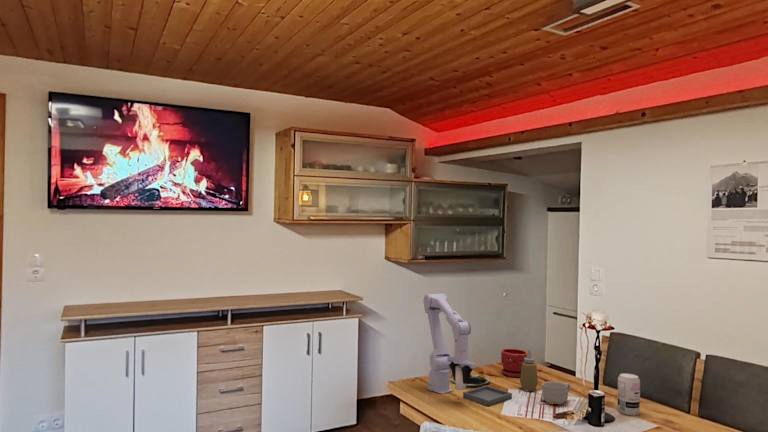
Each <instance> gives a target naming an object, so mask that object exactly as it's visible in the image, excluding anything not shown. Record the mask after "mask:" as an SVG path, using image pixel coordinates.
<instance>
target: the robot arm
mask: <svg viewBox="0 0 768 432" xmlns="http://www.w3.org/2000/svg"><path fill="white" fill-rule="evenodd" d="M422 302H423V307H424V313H426V314H427V319H428V323H429V329H430V335H431V340H432V345H433V350H432V352H431V353H430V355H429V367H430V369H431V370H429V373H428V387H427V388H426V389H427V390H429V391H432V392H435V393H438V394H441V395H443V394H446V393H451V392H454V389H453V388H451V387H450V381H451V378H450V377H451V374H453V377H454V381H455V373H456V370H455V366H457V365H463V366H464V367H461V370H462V374H463V384H466V383H468V379H469V376H470V374H472V371H473V370H474V369H476V367H477V366H476V363H475V362H473V361H470V360H469V336H470V335H471V332H472V325H471V324H470V322H469V321H468V320H464V319H463V318H462V317H461V316H460V314H459V313H458V312H457V310H453V309H452V307H451V305H449V302H448V297H447V294H445V293H444V292H442V293H426V294H425V295H424V296H423V300H422ZM441 313H443V314H444V315H445V319H446V321H447V322H448V324H449V326H450V327H451V330H452V334H453V339H454V355H453V356H452V354H451V351H450V350H448V349H447V348H446V347H445V341H444V336H443V330H442V325H441V320H440V314H441ZM450 372H452V373H451V374H450Z"/></svg>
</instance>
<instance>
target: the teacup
mask: <svg viewBox="0 0 768 432" xmlns="http://www.w3.org/2000/svg"><path fill="white" fill-rule="evenodd" d="M571 387H572V386H571V384H570V383H568V382H565V383H564V382H560V381H543V382H542V383H541V391H542V393H541V394H542V398H543V400H544V401H545V402H546V403H547V404H549V403H550V405H553V404H552V403H556V404H558V405H557V406H559V405H563V404H565V403H566V402H567V401H568V397H569V392H570V391H571Z"/></svg>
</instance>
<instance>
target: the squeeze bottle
mask: <svg viewBox="0 0 768 432" xmlns="http://www.w3.org/2000/svg"><path fill="white" fill-rule="evenodd" d="M526 352H527V357H525V358H524V362H523V363H522V368H521V377H520V380H519V382H520V383H519V384H520V385H521V388H522V390H523V391H526V392H535V391H536V390H537V387H538V384H539V381H538V379H539V377H538V368H537V364H536V363H535V358H534V357H533V356H532V351H531V350H530V349H529V350H527V351H526Z"/></svg>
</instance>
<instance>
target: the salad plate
mask: <svg viewBox="0 0 768 432" xmlns="http://www.w3.org/2000/svg"><path fill="white" fill-rule="evenodd" d="M450 377H451V378H450V381H451V382H452V383H453V384H455V381H454V377H453V373H451V374H450ZM490 382H491V380H490V378H487V377H485V376H482V375H476V374H472V373H470V376H469V379H468V383H466V388H470V389H472V388H473V389H476V388H479V387H483V386H486V385H487V386H489V384H491V383H490Z"/></svg>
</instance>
